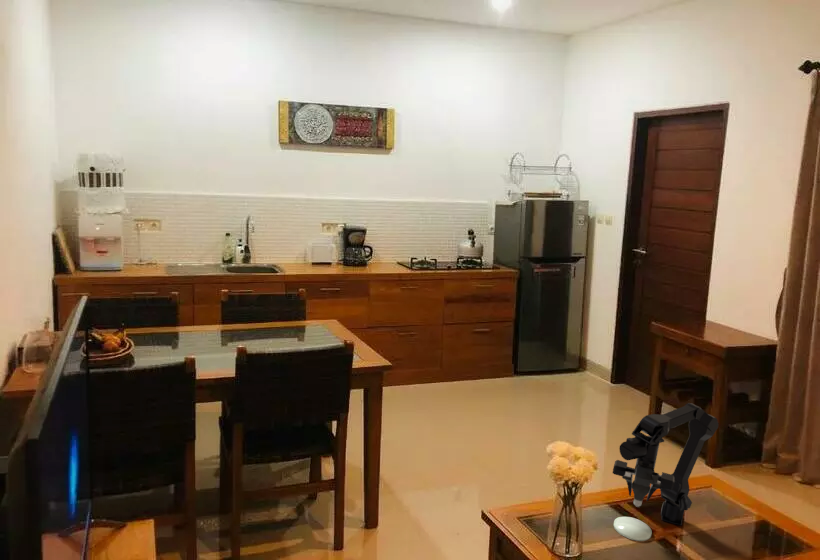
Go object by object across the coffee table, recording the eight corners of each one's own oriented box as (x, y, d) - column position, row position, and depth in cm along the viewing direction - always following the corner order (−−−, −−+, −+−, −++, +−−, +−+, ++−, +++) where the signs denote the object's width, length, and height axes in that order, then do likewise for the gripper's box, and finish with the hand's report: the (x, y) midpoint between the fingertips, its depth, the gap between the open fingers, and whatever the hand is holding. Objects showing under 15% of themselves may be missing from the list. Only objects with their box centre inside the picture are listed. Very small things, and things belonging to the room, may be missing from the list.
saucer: (652, 526, 222) (652, 523, 222) (650, 545, 211) (650, 542, 211) (615, 515, 226) (616, 512, 226) (611, 533, 216) (612, 530, 215)
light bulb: (646, 512, 214) (652, 484, 212) (629, 508, 215) (634, 481, 213) (644, 503, 219) (650, 476, 217) (627, 499, 220) (632, 472, 218)
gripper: (614, 456, 209) (606, 501, 212) (677, 473, 202) (667, 519, 206) (618, 443, 219) (610, 485, 223) (678, 458, 212) (669, 502, 216)
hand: (638, 497), depth 216 cm, fingers closed on light bulb, 5 cm apart
